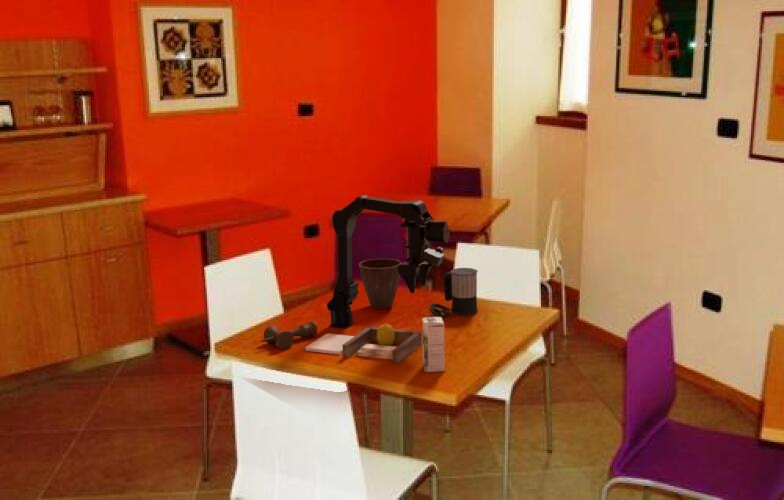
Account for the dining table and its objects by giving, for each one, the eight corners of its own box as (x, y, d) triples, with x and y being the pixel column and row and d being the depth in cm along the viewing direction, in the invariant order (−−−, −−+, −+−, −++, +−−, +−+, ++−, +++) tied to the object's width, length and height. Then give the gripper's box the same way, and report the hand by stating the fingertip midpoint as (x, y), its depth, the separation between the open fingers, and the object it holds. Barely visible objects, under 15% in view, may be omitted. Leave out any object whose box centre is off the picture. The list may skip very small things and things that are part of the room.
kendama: (323, 340, 260) (269, 354, 247) (306, 334, 267) (253, 347, 255) (322, 322, 258) (267, 335, 246) (305, 316, 266) (252, 329, 254)
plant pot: (359, 301, 299) (357, 259, 295) (399, 299, 300) (398, 257, 297) (362, 313, 284) (360, 269, 281) (404, 310, 286) (403, 266, 282)
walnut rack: (343, 357, 242) (342, 344, 241) (368, 338, 258) (368, 326, 257) (398, 364, 234) (397, 351, 233) (421, 344, 250) (421, 331, 249)
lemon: (393, 351, 245) (392, 326, 243) (375, 351, 246) (374, 325, 244) (397, 345, 250) (396, 320, 248) (379, 344, 251) (378, 320, 250)
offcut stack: (356, 356, 243) (356, 347, 242) (362, 352, 247) (361, 342, 246) (393, 360, 238) (392, 351, 238) (398, 356, 242) (398, 346, 241)
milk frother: (482, 310, 283) (482, 269, 280) (461, 322, 270) (460, 279, 267) (447, 305, 290) (445, 265, 287) (424, 317, 277) (423, 275, 274)
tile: (305, 350, 249) (305, 347, 249) (327, 336, 261) (327, 333, 261) (340, 354, 244) (340, 351, 244) (360, 340, 257) (360, 337, 256)
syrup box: (422, 365, 232) (420, 317, 229) (442, 364, 233) (441, 315, 230) (424, 372, 227) (423, 323, 224) (445, 371, 227) (444, 322, 224)
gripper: (429, 248, 243) (431, 299, 246) (450, 236, 259) (451, 283, 263) (395, 247, 247) (397, 296, 251) (418, 234, 264) (420, 281, 267)
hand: (418, 289), depth 258 cm, fingers open, 9 cm apart
